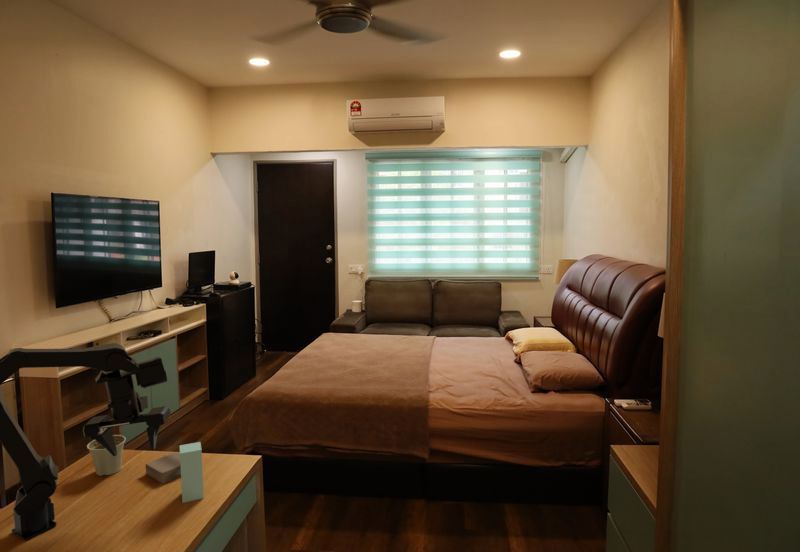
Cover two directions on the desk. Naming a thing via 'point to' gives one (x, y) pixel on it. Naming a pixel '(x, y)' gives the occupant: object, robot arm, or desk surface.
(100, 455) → the flower pot
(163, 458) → the base slab
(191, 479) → the pillar
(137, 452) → the desk surface
